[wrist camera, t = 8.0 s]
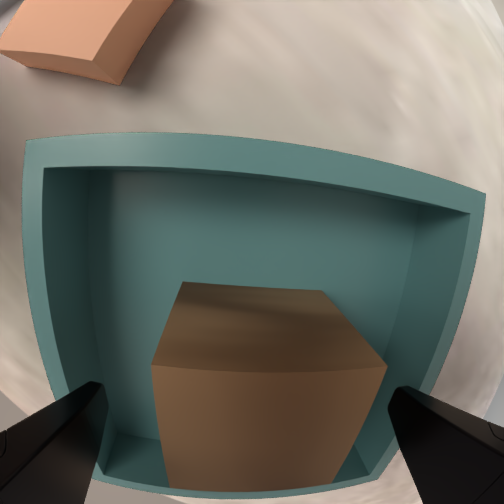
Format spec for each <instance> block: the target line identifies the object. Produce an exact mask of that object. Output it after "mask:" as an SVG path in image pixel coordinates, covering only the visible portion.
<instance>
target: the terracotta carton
mask: <svg viewBox="0 0 504 504" xmlns="http://www.w3.org/2000/svg"><path fill="white" fill-rule="evenodd" d="M173 1H174V0H25V1H24V2H23V3H22V5H21V6H20V8H19V9H18V11H17V12H16V13H15V15H14V17H13V18H12V20H11V21H10V23H9V24H8V26H7V28H6V29H5V31H4V32H3V34H2V36H1V38H0V53H1V54H3V55H5V56H7V57H9V58H11V59H13V60H15V61H17V62H19V63H21V64H23V65H25V66H28V67H35V68H41V69H47V70H53V71H58V72H64V73H69V74H73V75H78V76H83V77H87V78H91V79H96V80H100V81H104V82H108V83H112V84H115V85H119V86H120V84H121V82H122V80H123V78H124V76H125V75H126V73H127V71H128V69H129V67H130V66H131V64H132V62H133V61H134V59H135V57H136V55H137V54H138V52H139V51H140V49H141V47H142V46H143V44H144V42H145V41H146V39H147V38H148V36H149V35H150V33H151V32H152V30H153V29H154V27H155V26H156V24H157V23H158V21H159V20H160V19H161V17H162V16H163V14H164V13H165V12H166V10H167V9H168V8H169V6H170V5H171V4H172V2H173Z"/></svg>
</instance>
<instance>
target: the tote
mask: <svg viewBox="0 0 504 504" xmlns="http://www.w3.org/2000/svg"><path fill="white" fill-rule="evenodd" d="M485 199H486V194H485V193H482V192H480V191H477V190H474V189H472V188H469V187H466V186H463V185H460V184H458V183H455V182H452V181H449V180H446V179H442V178H439V177H436V176H433V175H430V174H426V173H423V172H420V171H416V170H413V169H409V168H405V167H402V166H398V165H394V164H390V163H386V162H382V161H378V160H374V159H370V158H366V157H361V156H357V155H352V154H347V153H342V152H337V151H332V150H327V149H321V148H316V147H310V146H304V145H297V144H291V143H284V142H277V141H269V140H261V139H252V138H243V137H232V136H221V135H207V134H189V133H158V132H127V133H97V134H81V135H68V136H57V137H48V138H39V139H31V140H26V146H25V154H24V165H23V179H22V240H23V255H24V266H25V275H26V283H27V290H28V297H29V303H30V308H31V314H32V319H33V324H34V328H35V333H36V337H37V341H38V345H39V349H40V353H41V357H42V360H43V364H44V367H45V370H46V374H47V377H48V380H49V383H50V386H51V389H52V392H53V395H54V397H55V400H56V401H57V400H58V399H60V398H62V397H63V396H65V395H67V394H68V393H70V392H72V391H74V390H75V389H77V388H79V387H80V386H82V385H84V384H85V383H87V382H89V381H95V382H100V383H102V384H103V385H104V387H105V391H106V395H107V399H108V403H109V410H108V415H107V419H106V424H105V428H104V433H103V438H102V443H101V448H100V452H99V455H98V459H97V462H96V465H95V468H94V471H93V474H92V479H95V480H99V481H102V482H106V483H109V484H114V485H118V486H122V487H126V488H132V489H136V490H141V491H147V492H152V493H159V494H166V495H174V496H183V497H194V498H209V499H262V498H277V497H288V496H297V495H305V494H312V493H319V492H325V491H330V490H335V489H340V488H345V487H350V486H354V485H358V484H362V483H366V482H370V481H374V480H377V479H378V478H379V476H380V475H381V474H382V472H383V471H384V470H385V468H386V467H387V465H388V464H389V462H390V461H391V459H392V458H393V457H394V455H395V454H396V452H397V450H398V449H399V445H398V442H397V439H396V436H395V433H394V429H393V426H392V423H391V420H390V417H389V414H388V410H387V407H388V403H389V401H390V399H391V397H392V395H393V392H394V390H395V389H396V388H397V387H399V386H405V385H408V386H410V387H412V388H414V389H417V390H419V391H421V392H423V393H425V394H427V395H429V394H430V392H431V390H432V388H433V386H434V384H435V382H436V380H437V377H438V375H439V373H440V371H441V368H442V366H443V364H444V361H445V359H446V356H447V354H448V351H449V349H450V346H451V344H452V341H453V338H454V336H455V333H456V330H457V327H458V324H459V321H460V318H461V315H462V312H463V309H464V305H465V302H466V298H467V295H468V291H469V288H470V284H471V280H472V276H473V272H474V267H475V263H476V258H477V253H478V248H479V242H480V237H481V231H482V224H483V217H484V209H485ZM183 281H185V282H197V283H209V284H223V285H237V286H252V287H268V288H286V289H305V290H322V291H323V292H324V294H325V295H326V296H327V297H328V298H329V299H330V300H331V301H332V302H333V304H334V305H335V306H336V307H337V308H338V309H339V310H340V312H341V313H342V314H343V315H344V316H345V317H346V318H347V319H348V321H349V322H350V323H351V324H352V325H353V326H354V327H355V329H356V330H357V331H358V332H359V333H360V334H361V335H362V337H363V338H364V339H365V340H366V341H367V342H368V344H369V345H370V346H371V347H372V348H373V349H374V350H375V352H376V353H377V354H378V355H379V356H380V357H381V359H382V360H383V361H384V362H385V363H386V364H387V366H388V367H387V369H386V372H385V375H384V377H383V380H382V382H381V385H380V387H379V390H378V392H377V394H376V397H375V399H374V402H373V404H372V406H371V408H370V411H369V413H368V415H367V417H366V419H365V421H364V424H363V426H362V428H361V430H360V432H359V434H358V436H357V438H356V440H355V442H354V444H353V446H352V448H351V449H350V451H349V453H348V455H347V457H346V459H345V460H344V462H343V464H342V466H341V467H340V469H339V471H338V473H337V474H336V476H335V478H334V479H333V481H332V483H331V484H326V485H320V486H314V487H306V488H298V489H289V490H278V491H261V492H212V491H196V490H185V489H175V488H170V486H169V482H168V477H167V472H166V467H165V462H164V457H163V452H162V446H161V440H160V434H159V428H158V421H157V415H156V407H155V399H154V391H153V382H152V371H151V363H152V360H153V357H154V354H155V352H156V349H157V346H158V343H159V341H160V338H161V335H162V333H163V330H164V327H165V325H166V322H167V320H168V317H169V314H170V312H171V309H172V307H173V304H174V302H175V299H176V297H177V294H178V291H179V289H180V287H181V284H182V282H183Z"/></svg>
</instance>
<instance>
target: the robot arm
mask: <svg viewBox="0 0 504 504" xmlns="http://www.w3.org/2000/svg"><path fill="white" fill-rule="evenodd" d="M108 410H109V403H108V399H107V395H106V391H105V387H104V385H103V384H102V383H100V382H95V381H89V382H87V383H85V384H84V385H82V386H80V387H79V388H77V389H75V390H74V391H72V392H70V393H68V394H67V395H65V396H63V397H62V398H60V399H58V400H57V401H55V402H53V403H51V404H50V405H48V406H46V407H45V408H43V409H41V410H39V411H38V412H36V413H34V414H32V415H31V416H29V417H27V418H25V419H24V420H22V421H21V422H18V423H17V424H15V425H13V426H11V427H10V428H8V429H7V431H6V430H4V431H2V432H0V504H84V501H85V498H86V494H87V491H88V487H89V484H90V481H91V478H92V474H93V471H94V468H95V465H96V462H97V459H98V455H99V452H100V448H101V443H102V438H103V433H104V428H105V424H106V419H107V415H108ZM387 410H388V414H389V417H390V420H391V423H392V426H393V429H394V433H395V436H396V439H397V442H398V445H399V447H400V450H401V452H402V455H403V457H404V459H405V461H406V464H407V466H408V468H409V471H410V473H411V475H412V478H413V480H414V483H415V485H416V487H417V490H418V492H419V495H420V497H421V500H422V502H423V504H504V427H501V426H498V425H496V424H493V423H491V422H487V421H486V420H483V419H481V418H479V417H476V416H474V415H472V414H469V413H467V412H465V411H462V410H460V409H458V408H456V407H453V406H451V405H449V404H447V403H445V402H442V401H440V400H438V399H436V398H434V397H431V396H429V395H427V394H425V393H423V392H421V391H419V390H417V389H414V388H412V387H410V386H408V385H405V386H399V387H397V388H396V389H395V390H394V392H393V395H392V397H391V399H390V401H389V403H388V407H387Z"/></svg>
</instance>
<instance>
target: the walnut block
mask: <svg viewBox="0 0 504 504" xmlns="http://www.w3.org/2000/svg"><path fill="white" fill-rule="evenodd" d="M387 367H388V366H387V364H386V363H385V362H384V361H383V360H382V359H381V357H380V356H379V355H378V354H377V353H376V352H375V350H374V349H373V348H372V347H371V346H370V345H369V344H368V342H367V341H366V340H365V339H364V338H363V337H362V335H361V334H360V333H359V332H358V331H357V330H356V329H355V327H354V326H353V325H352V324H351V323H350V322H349V321H348V319H347V318H346V317H345V316H344V315H343V314H342V313H341V312H340V310H339V309H338V308H337V307H336V306H335V305H334V304H333V302H332V301H331V300H330V299H329V298H328V297H327V296H326V295H325V294H324V292H323V291H322V290H305V289H286V288H268V287H252V286H237V285H223V284H209V283H197V282H185V281H183V282H182V284H181V287H180V289H179V291H178V294H177V297H176V299H175V302H174V304H173V307H172V309H171V312H170V314H169V317H168V320H167V322H166V325H165V327H164V330H163V333H162V335H161V338H160V341H159V343H158V346H157V349H156V352H155V354H154V357H153V360H152V363H151V371H152V382H153V391H154V399H155V407H156V415H157V421H158V428H159V434H160V440H161V446H162V452H163V457H164V462H165V467H166V472H167V477H168V482H169V486H170V488H175V489H185V490H196V491H212V492H261V491H278V490H289V489H298V488H306V487H314V486H320V485H326V484H331V483H332V481H333V479H334V478H335V476H336V474H337V473H338V471H339V469H340V467H341V466H342V464H343V462H344V460H345V459H346V457H347V455H348V453H349V451H350V449H351V448H352V446H353V444H354V442H355V440H356V438H357V436H358V434H359V432H360V430H361V428H362V426H363V424H364V421H365V419H366V417H367V415H368V413H369V411H370V408H371V406H372V404H373V402H374V399H375V397H376V394H377V392H378V390H379V387H380V385H381V382H382V380H383V377H384V375H385V372H386V369H387Z"/></svg>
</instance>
